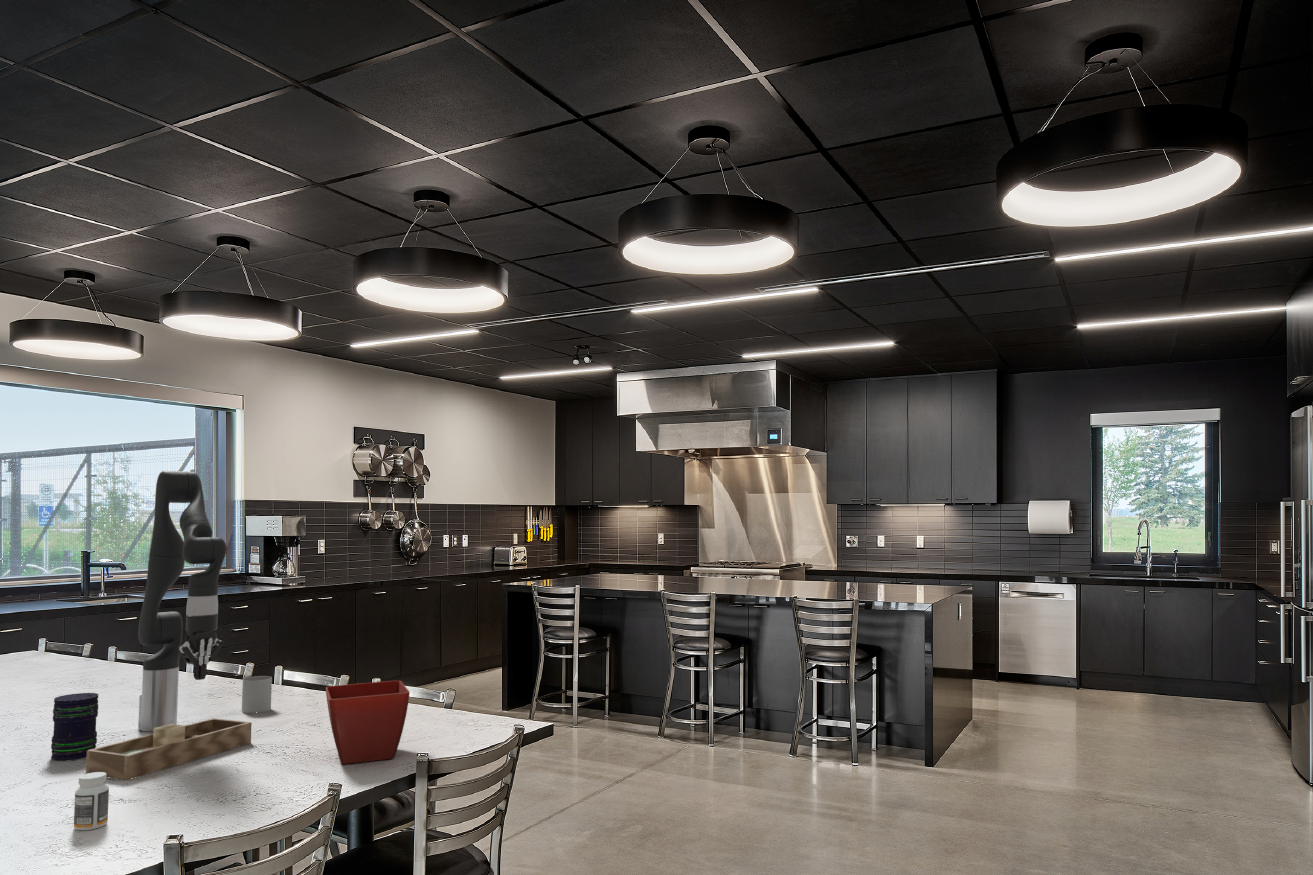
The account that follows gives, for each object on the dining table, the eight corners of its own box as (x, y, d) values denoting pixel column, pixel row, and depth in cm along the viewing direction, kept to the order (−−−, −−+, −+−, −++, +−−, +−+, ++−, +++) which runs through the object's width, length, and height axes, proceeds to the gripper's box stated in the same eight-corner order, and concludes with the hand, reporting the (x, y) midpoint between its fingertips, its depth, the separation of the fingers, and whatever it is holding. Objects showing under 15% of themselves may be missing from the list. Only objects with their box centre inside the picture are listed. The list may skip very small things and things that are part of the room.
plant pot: (323, 751, 230) (325, 685, 232) (399, 743, 238) (400, 679, 239) (327, 770, 213) (329, 699, 214) (409, 761, 220) (410, 692, 222)
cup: (259, 713, 274) (260, 681, 275) (235, 712, 276) (237, 680, 277) (276, 708, 282) (277, 676, 283) (253, 707, 284) (254, 675, 285)
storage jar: (47, 763, 221) (50, 702, 222) (53, 753, 229) (56, 695, 231) (94, 757, 225) (97, 698, 227) (98, 748, 234) (100, 691, 235)
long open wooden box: (212, 738, 244) (213, 718, 244) (250, 742, 239) (251, 722, 239) (85, 774, 211) (86, 750, 211) (126, 780, 206) (127, 756, 206)
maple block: (152, 748, 222) (153, 728, 223) (170, 743, 227) (171, 723, 227) (166, 750, 220) (167, 729, 221) (184, 745, 225) (185, 725, 225)
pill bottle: (99, 819, 179) (101, 769, 180) (112, 825, 176) (115, 773, 177) (68, 827, 174) (70, 776, 175) (81, 833, 171) (83, 780, 172)
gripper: (212, 609, 242) (210, 674, 240) (170, 614, 230) (167, 682, 228) (233, 610, 239) (231, 675, 237) (190, 615, 227) (188, 684, 225)
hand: (199, 679), depth 233 cm, fingers closed
